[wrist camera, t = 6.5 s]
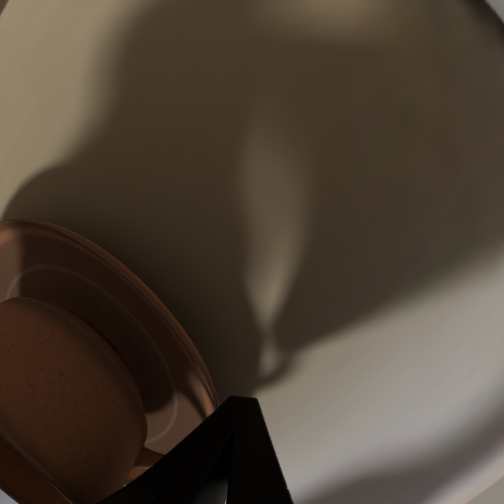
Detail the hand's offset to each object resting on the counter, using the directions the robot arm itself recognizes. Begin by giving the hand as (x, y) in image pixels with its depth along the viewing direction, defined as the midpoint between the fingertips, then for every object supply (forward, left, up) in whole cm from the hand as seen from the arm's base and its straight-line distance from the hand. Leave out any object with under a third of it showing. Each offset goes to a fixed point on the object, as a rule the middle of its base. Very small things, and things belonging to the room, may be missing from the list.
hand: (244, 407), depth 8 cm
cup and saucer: (-1, +7, -2) cm, 7 cm away
